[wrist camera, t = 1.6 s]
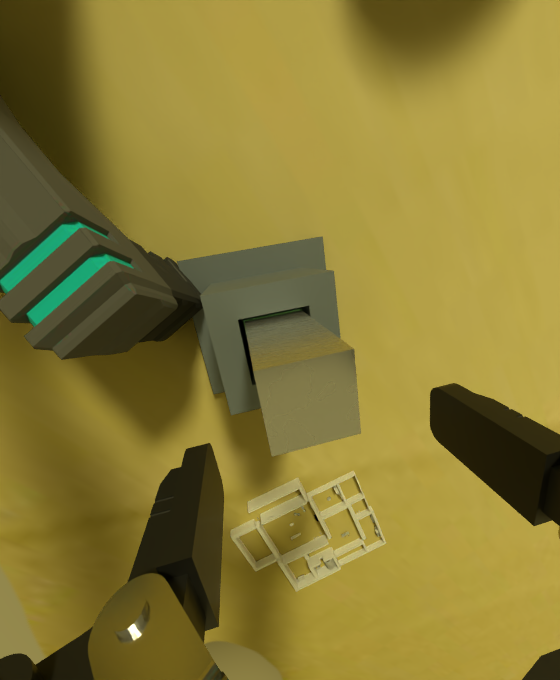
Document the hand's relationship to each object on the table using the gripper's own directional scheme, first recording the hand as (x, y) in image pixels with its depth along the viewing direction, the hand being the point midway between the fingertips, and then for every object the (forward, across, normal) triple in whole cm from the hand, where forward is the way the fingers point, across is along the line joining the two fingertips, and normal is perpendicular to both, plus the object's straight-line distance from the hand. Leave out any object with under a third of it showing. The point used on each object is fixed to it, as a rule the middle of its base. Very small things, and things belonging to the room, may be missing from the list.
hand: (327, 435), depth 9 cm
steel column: (+18, 0, 0) cm, 18 cm away
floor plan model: (+21, +2, +32) cm, 39 cm away
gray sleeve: (+20, 0, 0) cm, 20 cm away
